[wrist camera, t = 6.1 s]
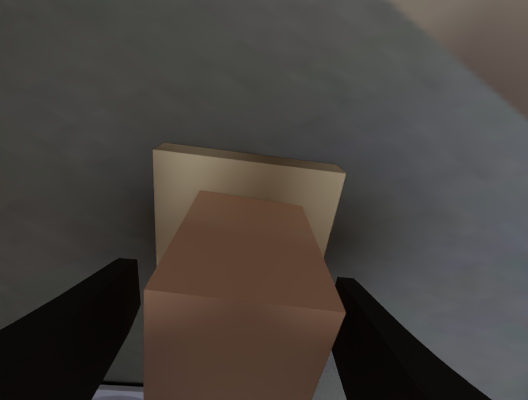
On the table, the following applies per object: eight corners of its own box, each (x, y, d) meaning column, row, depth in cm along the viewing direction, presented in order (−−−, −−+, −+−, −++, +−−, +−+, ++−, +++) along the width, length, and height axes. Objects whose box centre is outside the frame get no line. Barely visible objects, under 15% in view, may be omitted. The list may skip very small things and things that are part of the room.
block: (192, 275, 13) (143, 416, 7) (199, 190, 11) (143, 289, 5) (281, 285, 13) (300, 426, 8) (302, 206, 11) (345, 312, 6)
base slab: (169, 276, 15) (157, 301, 13) (168, 140, 12) (152, 149, 10) (302, 288, 16) (308, 314, 14) (333, 161, 13) (346, 173, 11)
